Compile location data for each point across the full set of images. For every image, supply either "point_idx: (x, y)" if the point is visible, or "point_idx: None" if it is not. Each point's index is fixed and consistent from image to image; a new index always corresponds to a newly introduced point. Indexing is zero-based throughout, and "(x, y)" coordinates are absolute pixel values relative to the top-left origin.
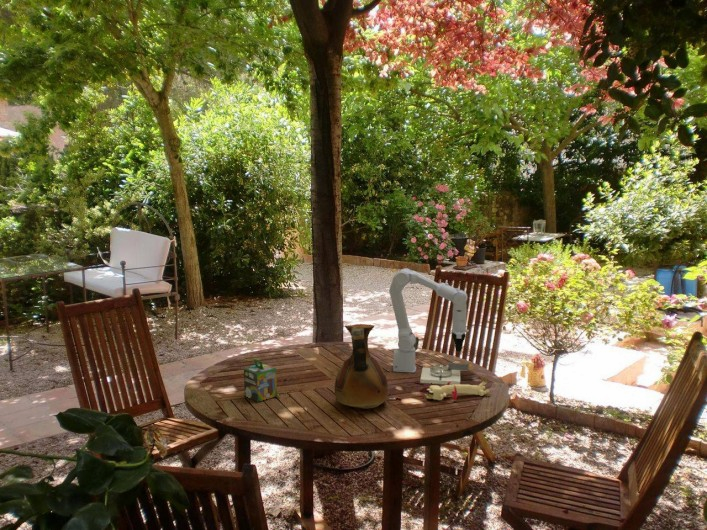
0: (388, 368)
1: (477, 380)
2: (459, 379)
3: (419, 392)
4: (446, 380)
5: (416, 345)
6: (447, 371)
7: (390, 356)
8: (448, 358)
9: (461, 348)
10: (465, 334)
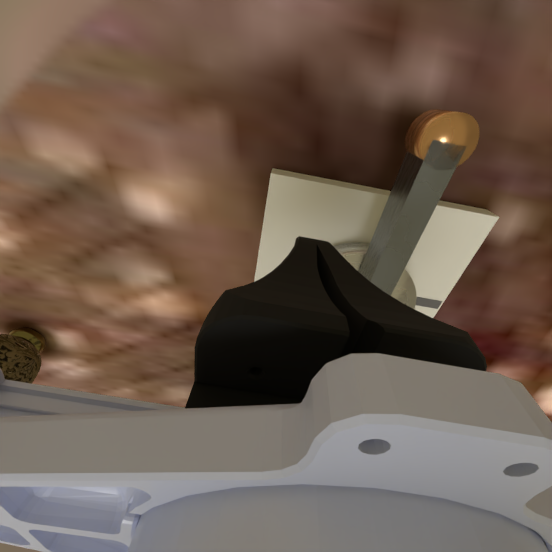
0: None
1: (436, 71)
2: (460, 214)
3: (501, 368)
4: (452, 280)
5: (3, 358)
6: (406, 284)
7: (96, 391)
8: (8, 188)
9: (339, 253)
10: (326, 333)
